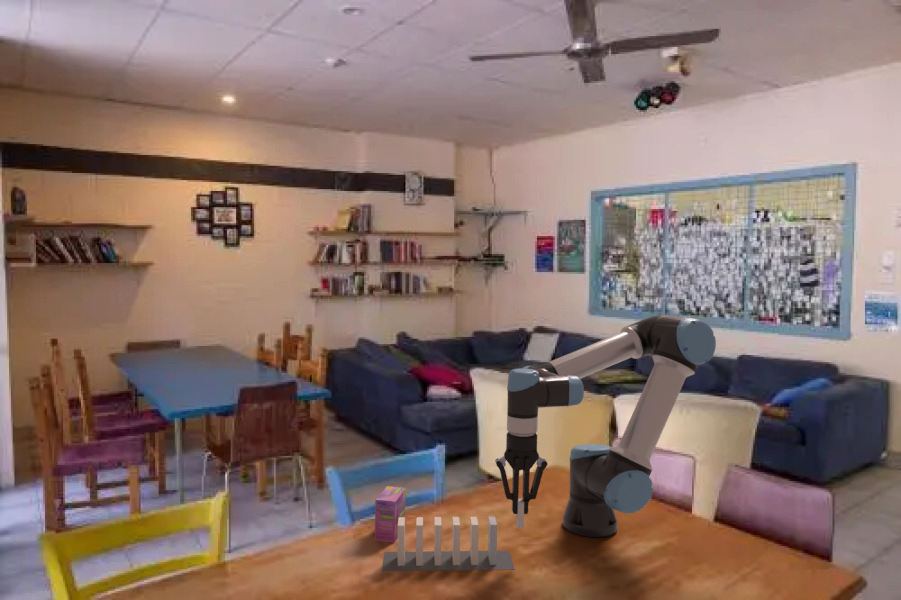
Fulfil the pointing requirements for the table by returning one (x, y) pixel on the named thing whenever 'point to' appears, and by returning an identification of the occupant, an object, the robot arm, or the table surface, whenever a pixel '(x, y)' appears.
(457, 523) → the domino
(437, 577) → the table surface
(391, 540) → the box
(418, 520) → the domino
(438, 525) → the domino
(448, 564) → the mat
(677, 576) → the table surface
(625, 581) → the table surface
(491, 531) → the domino
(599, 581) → the table surface
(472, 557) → the domino
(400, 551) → the domino
